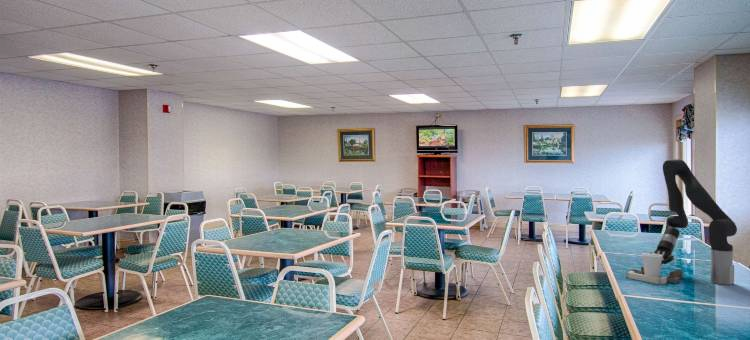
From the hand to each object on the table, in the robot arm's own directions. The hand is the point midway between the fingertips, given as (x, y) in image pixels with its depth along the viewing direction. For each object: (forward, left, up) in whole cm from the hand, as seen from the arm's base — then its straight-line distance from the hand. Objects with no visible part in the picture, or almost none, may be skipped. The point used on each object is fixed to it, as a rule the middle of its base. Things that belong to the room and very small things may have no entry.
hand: (656, 268), depth 258 cm
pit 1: (+9, +4, -5) cm, 11 cm away
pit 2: (-10, +4, -5) cm, 12 cm away
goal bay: (0, +11, -5) cm, 12 cm away
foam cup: (0, +5, -5) cm, 7 cm away
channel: (0, -6, -5) cm, 7 cm away
